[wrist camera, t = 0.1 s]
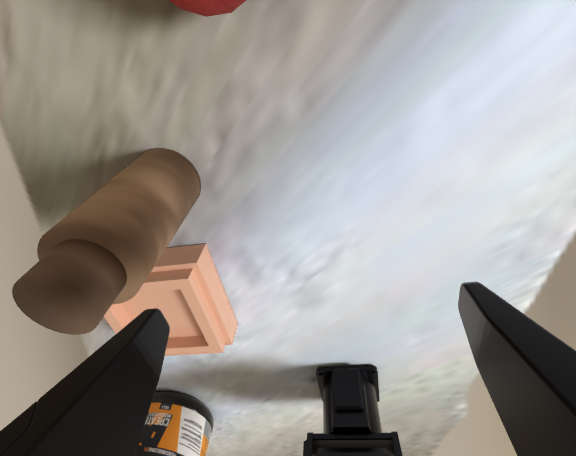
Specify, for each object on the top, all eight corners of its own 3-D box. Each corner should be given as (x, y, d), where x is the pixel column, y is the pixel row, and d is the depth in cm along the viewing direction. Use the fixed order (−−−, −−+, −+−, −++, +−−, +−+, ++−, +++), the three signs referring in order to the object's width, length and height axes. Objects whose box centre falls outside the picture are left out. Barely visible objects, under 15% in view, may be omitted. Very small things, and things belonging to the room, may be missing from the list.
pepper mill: (209, 205, 25) (134, 341, 15) (150, 213, 26) (41, 347, 16) (187, 142, 23) (76, 255, 12) (122, 153, 23) (-33, 268, 13)
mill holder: (237, 323, 33) (229, 355, 30) (147, 329, 34) (130, 360, 31) (205, 243, 27) (191, 273, 24) (100, 255, 29) (74, 284, 26)
